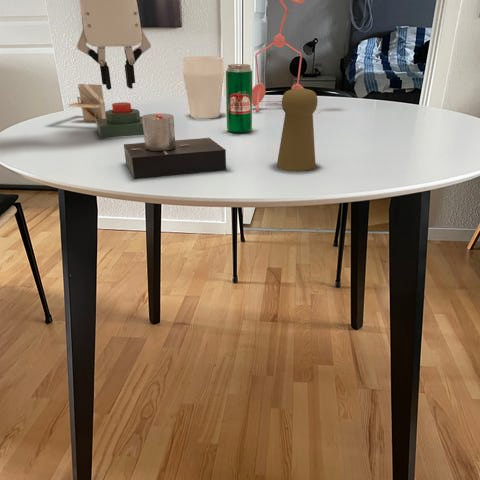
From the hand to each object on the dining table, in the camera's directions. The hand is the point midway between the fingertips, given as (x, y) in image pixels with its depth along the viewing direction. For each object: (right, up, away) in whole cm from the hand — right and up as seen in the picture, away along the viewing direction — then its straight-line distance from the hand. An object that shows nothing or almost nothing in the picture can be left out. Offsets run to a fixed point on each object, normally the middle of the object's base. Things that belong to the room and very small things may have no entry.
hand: (119, 87), depth 96 cm
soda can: (+23, -7, +5) cm, 25 cm away
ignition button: (0, -4, +3) cm, 5 cm away
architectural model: (-9, -1, +14) cm, 17 cm away
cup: (+15, +2, +20) cm, 25 cm away
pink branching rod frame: (+33, +8, +29) cm, 45 cm away
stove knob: (+11, -19, -20) cm, 30 cm away
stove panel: (+13, -21, -18) cm, 30 cm away
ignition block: (0, -7, +4) cm, 8 cm away
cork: (+32, -21, -18) cm, 42 cm away
